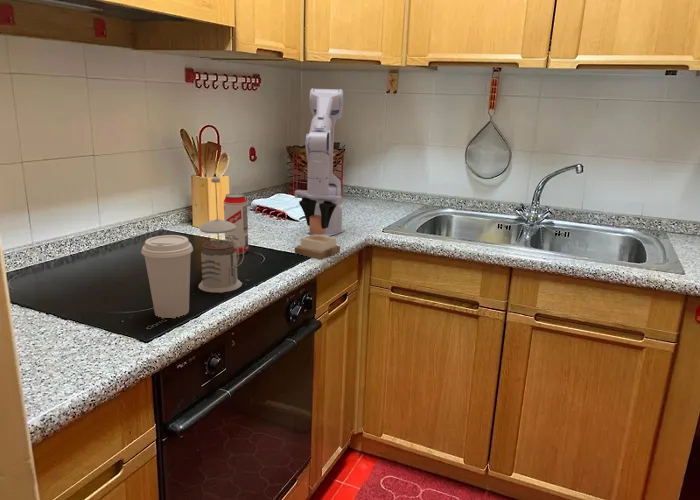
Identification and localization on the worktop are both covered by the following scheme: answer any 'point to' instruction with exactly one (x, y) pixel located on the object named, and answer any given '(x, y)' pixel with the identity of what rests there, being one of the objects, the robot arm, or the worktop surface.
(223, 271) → the french press
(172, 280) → the coffee cup
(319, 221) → the terracotta cylinder
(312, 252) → the walnut base slab
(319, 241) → the cream slab
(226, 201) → the beer can
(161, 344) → the worktop surface
